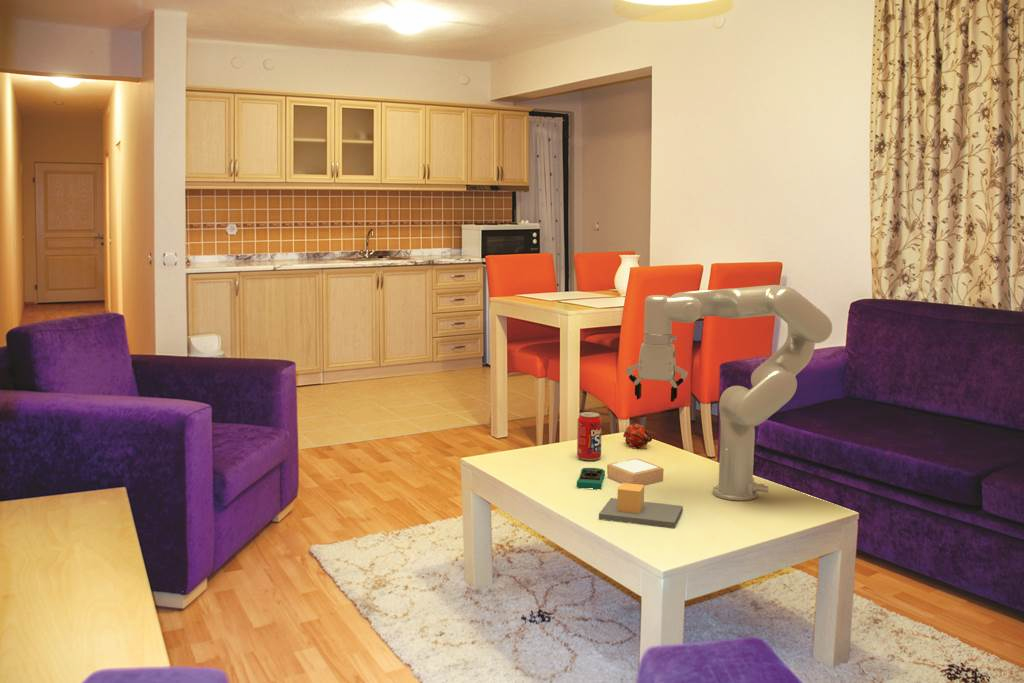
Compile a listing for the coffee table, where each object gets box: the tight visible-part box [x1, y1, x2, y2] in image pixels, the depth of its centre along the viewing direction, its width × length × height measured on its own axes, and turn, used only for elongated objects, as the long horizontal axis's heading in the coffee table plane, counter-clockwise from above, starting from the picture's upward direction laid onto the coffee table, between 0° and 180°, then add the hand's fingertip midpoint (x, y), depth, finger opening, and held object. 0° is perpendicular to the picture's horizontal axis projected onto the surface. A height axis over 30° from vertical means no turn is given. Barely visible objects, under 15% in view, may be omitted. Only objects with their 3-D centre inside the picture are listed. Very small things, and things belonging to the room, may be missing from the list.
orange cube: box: [617, 482, 645, 513], centre depth 244 cm, size 6×6×6 cm
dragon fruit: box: [623, 423, 653, 450], centre depth 313 cm, size 8×8×12 cm
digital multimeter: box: [576, 467, 606, 490], centre depth 273 cm, size 7×15×3 cm, turn 170°
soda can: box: [576, 411, 603, 462], centre depth 297 cm, size 8×8×15 cm
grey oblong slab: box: [598, 497, 684, 529], centre depth 244 cm, size 20×14×2 cm
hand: (655, 399), depth 256 cm, fingers open, 9 cm apart
